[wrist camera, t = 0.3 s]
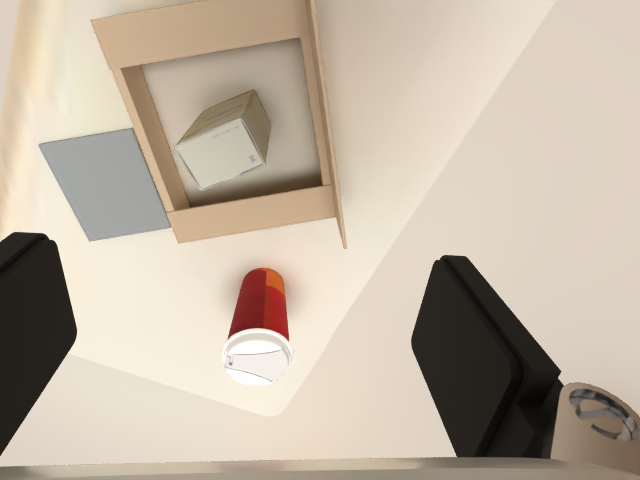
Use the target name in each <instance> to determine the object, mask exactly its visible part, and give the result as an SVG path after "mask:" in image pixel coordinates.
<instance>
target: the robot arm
mask: <svg viewBox="0 0 640 480" xmlns="http://www.w3.org/2000/svg"><path fill="white" fill-rule="evenodd" d="M76 336H77V327H76V323H75V319H74V315H73V310H72V306H71V302H70V298H69V294H68V289H67V285H66V281H65V277H64V273H63V268H62V264H61V260H60V256H59V252H58V247H57V244H56V243H55V241H53V240H49V238H48V237H47V235H45V234H43V233H25V232H14V233H12V234H10V235H9V236H8V237H6V238H5V239H4V240H2V241H1V242H0V456H1V454H2V453H3V451H4V450H5V448H6V446H7V445H8V443H9V442H10V440H11V439H12V437H13V436H14V434H15V433H16V431H17V430H18V428H19V427H20V425H21V424H22V422H23V421H24V419H25V417H26V416H27V414H28V413H29V411H30V410H31V408H32V407H33V405H34V404H35V402H36V401H37V399H38V398H39V396H40V395H41V393H42V392H43V390H44V388H45V387H46V385H47V384H48V382H49V381H50V379H51V378H52V376H53V375H54V373H55V371H56V370H57V369H58V367H59V365H60V364H61V362H62V361H63V359H64V358H65V356H66V355H67V353H68V352H69V350H70V349H71V347H72V346H73V344H74V342H75V340H76ZM411 344H412V349H413V352H414V355H415V357H416V359H417V362H418V364H419V366H420V369H421V371H422V374H423V376H424V379H425V381H426V383H427V385H428V388H429V391H430V393H431V395H432V398H433V400H434V403H435V405H436V407H437V410H438V412H439V414H440V417H441V419H442V422H443V424H444V427H445V429H446V432H447V434H448V436H449V439H450V441H451V443H452V446H453V448H454V451H455V453H456V456H457V457H441V458H440V457H433V458H374V459H373V458H371V459H370V458H369V459H313V460H312V459H311V460H310V459H307V460H265V461H264V460H260V461H259V460H258V461H211V462H166V463H126V464H87V465H53V466H52V465H50V466H12V467H0V480H640V417H639V415H638V414H637V413H636V412H635V411H634V410H632V408H631V407H629V405H627V404H626V403H625V402H623V401H622V400H620V399H619V398H618V397H616V396H615V395H613V394H611V393H609V392H607V391H605V390H604V389H601V388H598V387H596V386H593V385H590V384H585V383H580V382H579V383H569V384H567V385H565V386H564V385H563V384H562V383H561V382H560V380H559V379H558V376H559V375H560V373H561V371H560V369H559V368H558V367H557V366H556V364H554V362H553V361H552V360H551V358H550V357H549V356H548V355H547V354H546V352H545V351H544V350H543V349H542V347H541V346H540V345H539V344H538V343H537V342H536V340H535V339H534V338H533V337H532V335H531V334H530V333H529V332H528V331H527V329H526V328H525V327H524V326H523V325H522V323H521V322H520V321H519V320H518V319H517V317H516V316H515V315H514V314H513V312H512V311H511V310H510V309H509V307H507V305H506V304H505V303H504V301H503V300H502V299H501V298H500V297H499V295H498V294H497V293H496V292H495V291H494V289H493V288H492V287H491V286H490V284H489V283H488V282H487V281H486V280H485V278H484V277H483V276H482V275H481V274H480V272H479V271H478V270H477V269H476V268H475V266H474V265H473V264H472V263H471V262H470V260H469V259H468V258H467V257H466V256H452V255H444V256H442V257H441V258H440V260H436V261H435V262H434V264H433V267H432V270H431V273H430V277H429V280H428V284H427V287H426V290H425V294H424V297H423V300H422V304H421V307H420V310H419V314H418V317H417V321H416V324H415V328H414V331H413V335H412V339H411Z"/></svg>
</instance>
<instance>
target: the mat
mask: <svg viewBox="0 0 640 480" xmlns="http://www.w3.org/2000/svg"><path fill="white" fill-rule="evenodd" d="M38 146H39V148H40V150H41V152H42V154H43V155H44V157H45V159H46V161H47V163H48V165H49V167H50V169H51V170H52V172H53V174H54V176H55V178H56V180H57V182H58V184H59V186H60V187H61V189H62V191H63V193H64V195H65V197H66V199H67V201H68V202H69V204H70V206H71V208H72V210H73V212H74V214H75V216H76V217H77V219H78V221H79V223H80V225H81V227H82V229H83V231H84V233H85V234H86V236H87V238H88V240H89V242H90V241H95V240H101V239H107V238H113V237H119V236H125V235H131V234H137V233H143V232H149V231H155V230H161V229H167V228H171V224H170V221H169V219H168V216H167V214H166V211H165V208H164V206H163V203H162V201H161V198H160V196H159V193H158V191H157V188H156V185H155V183H154V180H153V178H152V175H151V173H150V170H149V168H148V165H147V163H146V160H145V158H144V155H143V152H142V150H141V147H140V145H139V142H138V140H137V137H136V135H135V132H134V130H133V128H130V129H124V130H118V131H113V132H107V133H101V134H95V135H89V136H83V137H77V138H72V139H66V140H60V141H54V142H48V143H42V144H39V145H38Z"/></svg>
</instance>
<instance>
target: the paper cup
mask: <svg viewBox="0 0 640 480" xmlns="http://www.w3.org/2000/svg"><path fill="white" fill-rule="evenodd" d="M221 356H222V361H223V363H224V365H225V369H226V371H227V373H228V374H229V375H230V376H231V377H232V378H233V379H234V380H236V381H238V382H240V383H242V384H246V385H252V386H261V385H267V384H270V383H273V382H274V381H276V380H278V379H279V378H281V377H282V376H283V375H284V374H285V372H286V371H287V370H288V369H289V368H290V365H291V364H292V362H293V360H294V350H293V348H292V346H291V344H290V343H289V333H288V322H287V311H286V300H285V291H284V284H283V280H282V278H281V276H280V275H279V274H278V273H277V272H275V271H273V270H271V269H267V268H259V269H255V270H252V271H251V272H249V273H248V274H247V275H246V276H245V278H244V280H243V283H242V286H241V289H240V293H239V297H238V301H237V304H236V308H235V312H234V316H233V320H232V324H231V328H230V332H229V336H228V339H227V341H226V342H225V344H224V345H223V348H222V352H221Z"/></svg>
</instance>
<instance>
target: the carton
mask: <svg viewBox="0 0 640 480" xmlns="http://www.w3.org/2000/svg"><path fill="white" fill-rule="evenodd" d="M90 21H91V24H92V26H93V29H94V31H95V34H96V36H97V39H98V41H99V44H100V46H101V49H102V52H103V54H104V57H105V59H106V62H107V64H108V67H109V69H110V70H111V71H112V73H113V76H114V78H115V81H116V83H117V86H118V88H119V91H120V93H121V96H122V99H123V101H124V104H125V106H126V109H127V111H128V114H129V116H130V119H131V121H132V124H133V127H134V129H135V132H136V134H137V137H138V139H139V142H140V144H141V147H142V150H143V152H144V155H145V157H146V160H147V162H148V165H149V167H150V170H151V172H152V175H153V178H154V180H155V183H156V185H157V188H158V190H159V193H160V195H161V198H162V200H163V203H164V206H165V208H166V211H167V213H166V214H167V216H168V219H169V221H170V224H171V227H172V229H173V232H174V234H175V237H176V239H177V242H178V244H179V243H185V242H191V241H197V240H203V239H209V238H214V237H220V236H226V235H232V234H238V233H244V232H250V231H256V230H262V229H268V228H274V227H280V226H286V225H292V224H298V223H303V222H309V221H315V220H321V219H327V218H333V217H336V219H337V223H338V227H339V231H340V235H341V239H342V243H343V247H344V249H346V248H347V243H346V235H345V228H344V220H343V213H342V205H341V197H340V190H339V182H338V174H337V167H336V159H335V152H334V144H333V136H332V129H331V121H330V113H329V106H328V98H327V91H326V83H325V75H324V68H323V60H322V52H321V45H320V37H319V29H318V22H317V14H316V7H315V0H203V1H197V2H191V3H185V4H179V5H174V6H168V7H162V8H156V9H150V10H145V11H139V12H133V13H127V14H121V15H116V16H110V17H104V18H98V19H92V20H90ZM293 38H300V44H301V50H302V57H303V63H304V70H305V76H306V83H307V89H308V96H309V102H310V109H311V115H312V122H313V128H314V134H315V141H316V147H317V154H318V160H319V167H320V173H321V180H322V186H317V187H311V188H305V189H299V190H293V191H287V192H281V193H275V194H269V195H263V196H257V197H252V198H246V199H240V200H234V201H228V202H222V203H216V204H210V205H204V206H198V207H192V208H190V205H189V202H188V199H187V196H186V193H185V191H184V188H183V185H182V182H181V179H180V177H179V174H178V171H177V168H176V165H175V162H174V160H173V157H172V154H171V151H170V148H169V146H168V143H167V140H166V137H165V134H164V131H163V129H162V126H161V123H160V120H159V117H158V115H157V112H156V109H155V106H154V103H153V101H152V98H151V95H150V92H149V89H148V86H147V84H146V81H145V78H144V75H143V72H142V70H141V67H140V65H142V64H147V63H153V62H159V61H165V60H171V59H177V58H182V57H188V56H194V55H200V54H206V53H212V52H217V51H223V50H229V49H235V48H241V47H247V46H252V45H258V44H264V43H270V42H276V41H282V40H287V39H293Z"/></svg>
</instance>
